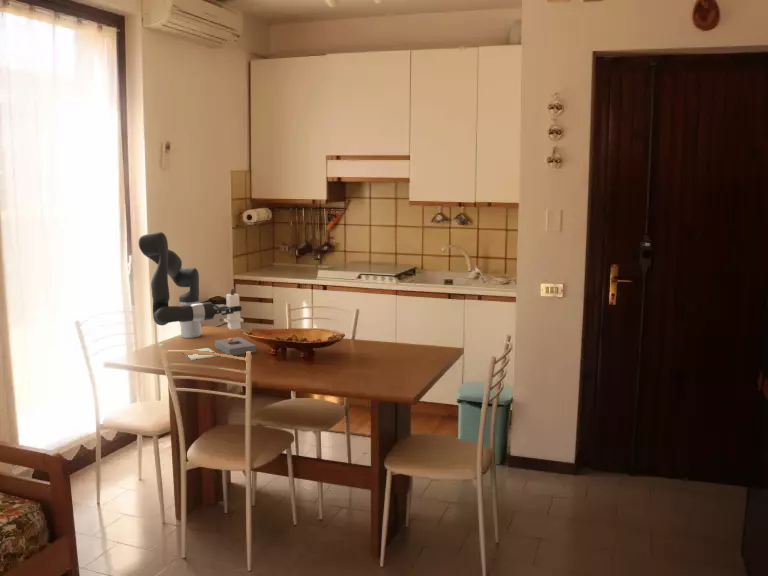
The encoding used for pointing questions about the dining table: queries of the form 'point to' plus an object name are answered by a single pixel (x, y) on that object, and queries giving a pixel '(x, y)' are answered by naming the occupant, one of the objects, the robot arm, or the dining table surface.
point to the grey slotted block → (235, 346)
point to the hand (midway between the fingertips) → (239, 307)
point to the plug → (234, 317)
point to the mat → (196, 356)
